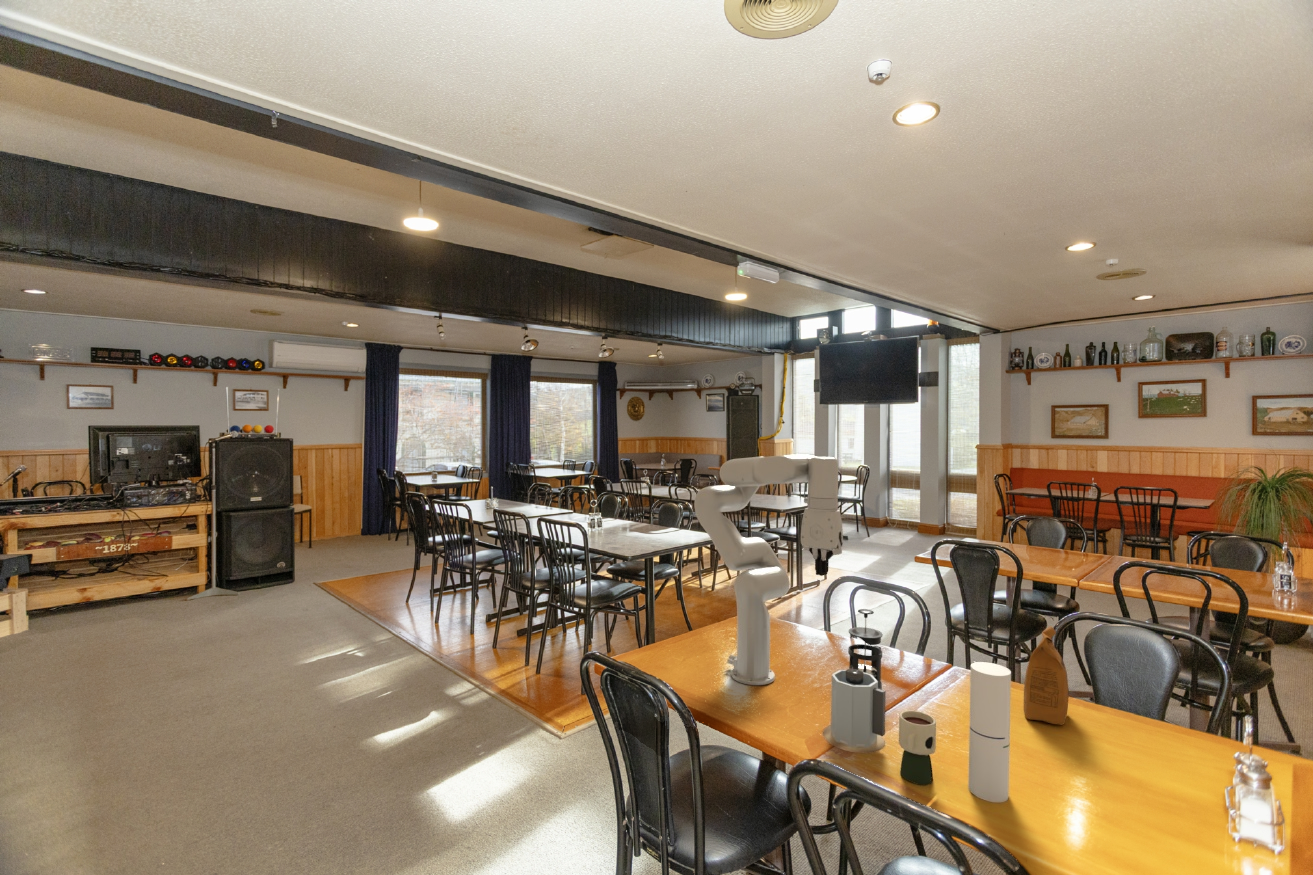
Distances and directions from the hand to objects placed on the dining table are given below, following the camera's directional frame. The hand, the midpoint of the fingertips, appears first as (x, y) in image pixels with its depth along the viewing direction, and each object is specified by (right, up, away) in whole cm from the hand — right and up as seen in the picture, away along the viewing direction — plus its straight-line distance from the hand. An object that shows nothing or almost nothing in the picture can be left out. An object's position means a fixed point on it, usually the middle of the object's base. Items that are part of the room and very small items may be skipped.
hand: (821, 574), depth 160 cm
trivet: (+3, -35, -16) cm, 39 cm away
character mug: (+11, -36, -32) cm, 49 cm away
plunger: (+3, -32, -16) cm, 36 cm away
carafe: (+4, -35, -17) cm, 39 cm away
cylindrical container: (+24, -36, -36) cm, 56 cm away
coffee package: (+57, -36, -2) cm, 67 cm away
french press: (+15, -35, +11) cm, 40 cm away
